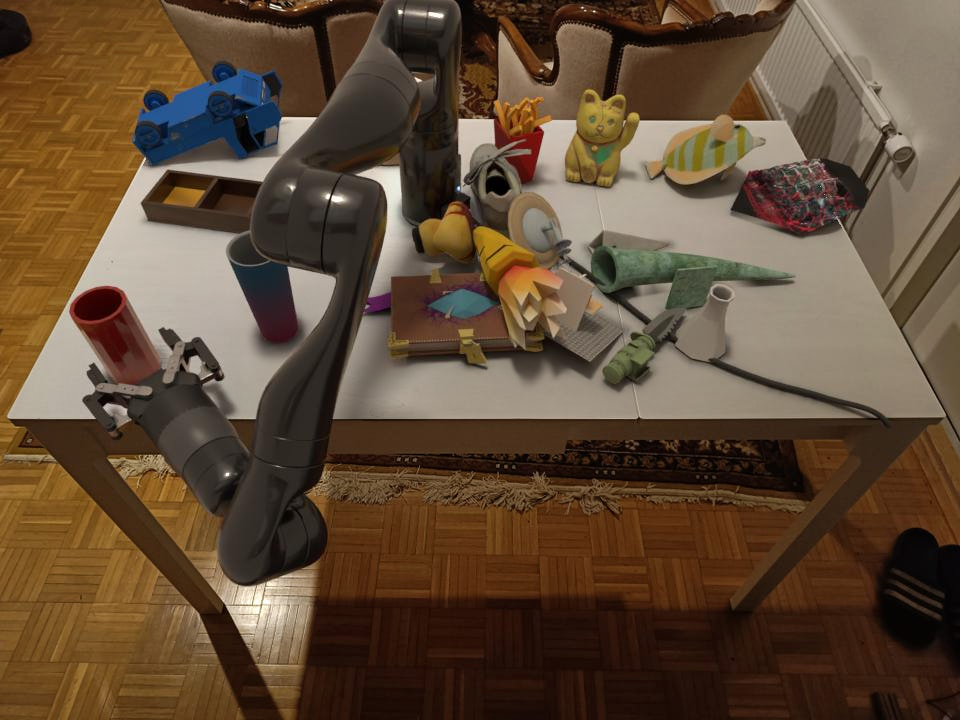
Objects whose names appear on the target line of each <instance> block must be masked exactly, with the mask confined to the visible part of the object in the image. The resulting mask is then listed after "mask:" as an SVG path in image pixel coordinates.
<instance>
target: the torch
mask: <svg viewBox="0 0 960 720" xmlns="http://www.w3.org/2000/svg"><path fill="white" fill-rule="evenodd" d="M473 240H474V244H475V247H476V249H477V251H476V253H477V255H478V257H479V261H480V265H481V267H482V268H483V271H484V274H485V277H486V280H487V283H488V284H489V286H490V287H491V288H492V290H493V291H494V292H495V293H496V295H498V296H499V297H500V301H501V305H502V308H503V312H504V316H505V319H506V323H507V327H508V330H509V339H510V340H511V342H512V344H513V345H514V347H515V348H516V346H517V344H519V345H520V346H521V347H522V348H523V349H525V330H533V329H534V327H535V325H536V323H537V321H538V322H539V323H540V324H541V325H542V326H543V328H544V329H545V330H546V331H547V332H549V333H551V334H552V337H553V338H554V337H555V335H556V336H559V337H561V338H564V339H566V337H565V335H564V333H563V331H562V329H561V327H560V324H559V322H558V320H557V318H556V316H555V315H557V314H563V313H566V310H567V308H566V307H565V305H564V304H563V302H562V301H561V299H560V298H559V296H558V294H557V293H556V291H557V290H559V289H560V287H561V284H562V282H563V280H562V279H560V278H559V277H558V276H556V274H555V273H554V272H553V271H551V270H550V269H548V270H546V269H542V268H539V264H538V262H537V259H536V256H535V255H534V254H533V253H531V252H529V251H527V250H525V249H524V248H522V247H520V246H518V245H516V244H515V243H513V242H512V241H510V240H509V239H508V238H506V237H505V236H503V235H502V234H500V233H498V232H496V231H494V230H492V229H490V228H486V227H484V225H482V226H479V227H477V226H476V229H475V230H474V231H473ZM566 340H567V339H566Z"/></svg>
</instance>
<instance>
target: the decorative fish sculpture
mask: <svg viewBox="0 0 960 720" xmlns="http://www.w3.org/2000/svg"><path fill="white" fill-rule="evenodd" d="M766 142H767V139H766V138H765V137H762V136H755V135H752V134H751V132H750V130H749V129H748V128H747V127H746V126H744V125H743V124H740V123H739V124H736V123H735V122H734V119H733V118H732V117H731V116H729V115H728V114H721V115H719V116H717V117H716V118H715V119H714V120H713V122H712V123H708V124H702V125H698V126H694V127H691V128H687V129H684V130H680V131H679V132H677V133H675V134H674V135H673V136H672V137H671V138H670V140H669V141H668V143H667V145H666V147H665V150H664V153H663V155H662V159H661V160H652V161H648V162H645V163H644V165H645V168H646V170H647V174H648V176H649V178H650V179H651V180H652V179H653V178H655V177H657V176H658V175H659V174H660V173H661V172H662V171H664V173H665V175H666V176H667V177H668V178H669V179H670V180H672V181H673V182H675V183H677V184H680V185H692V184H697V183H700V182H703V181H705V180H707V179H709V178H711V177H713V176H715V175H716V174H718V173H721V172H722V171H724V170H725V172H724V173H723V175H722V176H721V177H720V181H723V180H725V179H726V178H728V176H729V175H730V174H731V173H732V171H734V168H735V167H736V165H737V163H738V162H739V161H740V160H742V159H743V158H744V157H745V156H746V155H747V154H749V153H750V152H751V151H752V150H754V149H756V148H758V147H762V146H764V145H766Z"/></svg>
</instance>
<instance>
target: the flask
mask: <svg viewBox="0 0 960 720" xmlns="http://www.w3.org/2000/svg"><path fill="white" fill-rule="evenodd" d="M734 299H735V290H734V289H733V288H731V287H729V286H728V285H726V284H721V283H715V284H714V285H711V287H710V290H709V296H708V297H707V299H706V302H705V304H704V306H701V308H700V309H699V310H697V312H696V313H694V315H693V316H692V317H691V318H689V319H688V320H687V321H686V322H685V323H683V325H681V326H680V327H679V328H677V330H676V331H675V336H676V337H678V341H677V342H674V343H675V344H674V345H675V347H676V348H677V349H678V350H680V351H681V352H682V353H683V354H685V355H686V356H688V357H689V358H690V359H692V360H696V361H697V360H698V361H702V362H708V363H711V362H710V361H709V360H708V359H710V358H716V359H718V360H719V358H720V357H722V356H723V355H724V354H725V353H726V316H727V312H728V311H727V310H728V307H729V304H730V303H731V302H732V301H733V300H734Z"/></svg>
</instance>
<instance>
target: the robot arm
mask: <svg viewBox="0 0 960 720" xmlns="http://www.w3.org/2000/svg"><path fill="white" fill-rule="evenodd" d="M462 37H463V19H462V12H461V8H460V5H459V4H458V2H456V0H385V1H384V3H383V4H382V6H381V7H380V9H379V12H378V14H377V16H376V18H375V20H374V23H373V25H372V28H371V30H370V33H369V35H368V37H367V39H366V42H365V43H364V45H363V47H362V48H361V50H360V51H359V53H358V55H357V57H356V58H355V60H354V61H353V63H352V64H351V65H350V67H349V68H348V69H347V70H346V72H345V73H344V74H343V76H342V78H341V79H340V81H339V82H338V83H337V85H336V86H335V88H334V90H333V91H332V93H331V95H330V97H329V99H328V101H327V102H326V104H325V105H324V107H323V108H322V110H321V111H320V113H319V114H318V115H317V116H316V118H315V120H314V121H313V122H312V123H311V124H310V126H309V127H307V130H305V131H304V132H303V134H301V136H300V137H299V138H298V139H296V141H295V142H294V143H293V144H292V145H291V146H290V147H289V148H288V149H287V150H286V151H285V152H284V153H283V154H282V155H281V157H280V158H279V159H278V160H277V161H276V162H275V163H274V164H273V166H272V167H271V168H270V170H269V171H268V173H266V176H265V177H264V179H263V181H262V182H263V183H262V184H261V186H260V188H259V191H258V193H257V196H256V198H255V201H254V204H253V207H252V211H251V218H250V236H251V240H252V243H253V245H254V247H255V249H256V250H257V252H258V253H259V254H261V255H262V256H263V257H264V258H266V259H268V260H270V261H272V262H275V263H278V264H281V265H284V266H288V268H293V269H298V270H303V271H306V272H311V273H316V274H320V275H325V276H329V277H332V278H334V279H335V284H334V287H333V291H332V293H331V297H330V301H329V302H328V305H327V307H326V310H325V311H324V313H323V316H322V317H321V319H320V320H319V321H318V323H317V324H316V326H315V327H314V328H313V330H312V331H311V332H310V333H309V334H308V335H307V337H306V338H305V339H304V341H303V342H301V344H300V345H299V346H298V347H297V348H296V349H295V350H294V351H293V353H291V355H290V356H288V358H287V359H286V360H285V361H284V362H283V363H282V364H281V365H280V367H278V369H277V370H276V371H275V372H274V374H272V376H271V378H270V379H269V381H268V382H267V384H266V385H265V387H264V389H263V391H262V393H261V397H260V399H259V402H258V405H257V410H256V414H255V420H254V427H253V433H252V440H251V447H250V449H249V448H248V446H247V445H246V444H245V443H244V441H243V440H242V439H241V437H240V435H239V433H238V432H237V430H236V428H235V427H234V425H233V424H232V422H231V421H230V420H229V419H228V418H227V417H226V415H225V414H224V412H222V410H221V409H220V408H219V407H218V405H217V404H216V402H214V401H213V399H212V398H211V397H210V395H208V393H207V392H206V391H205V389H204V385H205V384H207V383H209V382H211V381H212V380H214V381H216V382H222V381H223V380H224V379H225V378H226V376H225V373H224V371H223V369H222V367H221V364H220V363H219V361H218V359H217V358H216V357H215V356H214V353H212V351H211V349H210V348H209V347H208V346H207V344H206V343H205V342H204V340H203V339H202V337H200V336H195V337H193V338H191V340H190V341H183V339H181V337H180V336H179V335H178V334H177V333H176V332H175V330H174V329H172V328H167V329H166V328H165V327H164V326H162V327H161V328H159V329H157V330H158V333H159V335H160V336H161V339H162V340H163V341H164V343H165V344H166V346H167V347H168V348H169V349H170V350H171V351H172V354H171V355H169V358H168V361H167V365H166V368H162V367H160V369H159V370H157V371H156V372H154V373H153V374H152V375H151V376H149V377H146V378H143V379H141V380H139V381H137V382H136V383H137V384H136V385H129V384H123V383H119V384H114V383H110V382H109V381H108V380H107V379H106V377H105V376H104V374H103V373H102V371H101V370H100V369H99V367H98V366H97V365H96V363H95V362H92V363H90V364H88V365H87V366H88V367H89V369H88V370H86V376H87V378H88V379H89V380H90V382H91V383H92V385H93V386H94V388H95V389H94V391H93V393H91V394H86V395H84V396H83V397H82V399H81V401H82V403H83V404H84V406H85V407H86V408H87V409H88V411H89V412H90V414H91V415H92V416H93V418H94V419H95V420H96V421H97V422H98V423H99V425H100V426H101V428H103V430H104V431H105V432H106V434H108V436H109V438H111V440H113V441H119V440H121V439H122V438H123V436H124V433H123V431H126V430H127V429H128V428H130V427H132V426H134V425H136V426H139V427H141V429H142V430H143V431H144V432H145V434H146V435H147V436H148V438H149V439H150V441H151V442H152V444H153V445H154V447H155V448H156V449H157V451H158V452H159V454H160V455H161V456H162V458H163V460H164V462H165V463H166V464H167V465H168V466H169V468H170V469H171V470H172V471H173V472H174V473H175V474H176V475H177V476H178V477H179V478H180V479H181V480H182V481H183V483H184V484H185V486H186V487H187V488H188V490H189V491H190V492H191V494H192V495H193V496H194V498H195V499H196V501H197V502H198V503H199V505H200V506H201V507H202V508H203V510H204V511H205V512H206V513H207V514H209V515H210V516H213V517H215V518H220V519H222V520H221V523H220V525H219V529H218V533H217V540H216V555H217V560H218V564H219V567H220V569H221V571H222V573H223V575H225V577H226V578H227V579H228V580H229V581H230V582H232V583H233V584H235V585H237V586H240V587H245V588H247V587H248V588H251V587H255V586H259V585H263V584H265V583H268V582H271V581H274V580H276V579H278V578H281V577H284V576H286V575H289V574H293V573H294V572H297V571H299V570H303V569H305V568H308V567H311V565H313V564H315V563H316V562H318V561H319V560H320V559H321V558H322V556H323V555H324V553H325V552H326V549H327V546H328V541H329V540H328V539H329V532H328V527H327V523H326V520H325V518H324V515H323V514H322V512H321V510H320V509H319V508H318V506H317V505H316V504H315V502H314V501H313V500H312V499H311V498H310V497H309V496H307V495H306V494H305V493H307V492H308V491H311V490H312V489H314V488H315V487H316V486H317V485H318V483H319V482H320V481H321V479H322V476H323V473H324V471H325V466H326V465H325V464H326V460H327V455H328V449H329V443H330V438H331V432H332V426H333V421H334V415H335V411H336V405H337V403H338V399H339V394H340V390H341V387H342V383H343V380H344V376H345V374H346V370H347V367H348V364H349V361H350V358H351V356H352V355H351V354H352V352H353V349H354V346H355V342H356V340H357V336H358V334H359V330H360V327H361V323H362V320H363V317H364V314H365V312H364V310H365V309H366V308H367V307H366V306H367V303H368V302H367V300H368V297H370V294H371V290H372V286H373V283H374V280H375V276H376V272H377V269H378V265H379V263H380V258H381V255H382V251H383V246H384V242H385V237H386V232H387V224H388V198H387V194H386V191H385V189H384V186H383V185H382V184H381V183H380V181H377V180H375V179H373V178H369V177H365V176H361V175H358V174H361V173H365V172H367V171H369V170H372V169H374V168H376V167H379V166H380V165H381V164H383V163H384V162H386V161H388V160H390V159H391V158H393V157H394V156H395V155H396V154H398V155H399V164H398V166H399V167H398V169H399V179H400V181H399V182H400V192H401V213H402V216H403V218H404V219H405V221H407V222H408V223H409V224H412V225H414V226H416V227H418V226H419V225H420V224H422V223H423V222H424V221H426V220H428V219H438V220H442V219H443V217H444V215H445V213H446V212H447V209H448V206H449V205H450V204H451V203H452V202H456V201H459V202H462V203H464V204H465V205H466V206H467V207H468V208H469V210H470V209H471V195H469V194H467V193H464V192H462V154H460V153H459V132H460V131H459V125H460V124H459V123H460V122H459V121H460V120H459V119H460V118H459V116H460V72H461V71H460V70H461V69H460V68H461V55H462V54H461V53H462V41H463V40H462ZM413 73H414V74H422V75H432V77H430V78H428V79H424V80H422V81H421V82H417V81H416V79H415V77H416V76H414V74H413ZM473 219H474V222H475V227H476V228H477V227H479V226H483V225H482V223H481V222H480V221H479V220H478V219H477V218H475V217H474V216H473ZM559 251H560V250H558V252H559ZM567 257H568V258H570V259H572V258H571V257H570V256H569V255H567ZM560 258H562V259H563V260H564V257H563V256H560ZM568 264H569V265H571V266H572V267H574V268H575V269H577V270H578V271H579V272H580V273H582V274H583V275H584V274H587V275H586V276H585V277H588V278H589V279H590V280H591V281H592V282H594V284H595V283H597V284H600V285H602V286H606V285H605V284H604V283H603V282H602V281H601V280H599V279H598V278H596V277H595V276H594V275H593V274H592V272H591V271H589V270H588V269H586V268H585V267H584V266H582V265H580V264H579V263H578V262H577V261H576V260H574V259H572V261H571V262H569V263H568ZM608 294H609V295H610V296H611V297H613V298H614V299H615V300H616V301H618V302H619V303H620V304H621V305H622V306H624V307H625V308H627V309H628V310H629V311H631V312H632V313H633V314H634V315H635V316H637V317H638V318H639V319H641V320H642V321H643V322H645V323H646V324H647V325H648V324H649V323H650V322H651V321H652V320H653V319H651V318H650V317H648V316H647V315H645V314H644V313H643V312H641V311H640V310H639V309H638V308H636V307H635V306H634V305H632V304H631V303H630V302H628V301H627V300H626V299H625V298H624V297H622V296H621V295H620V294H618V293H617V291H613V292H611V293H608ZM667 334H668V335H667V336H665V338H666V337H667V338H668V339H669V340H671V341H672V342H674V343H675V342H677V341H678V337H676V335H674V334H673V333H672V332H670V333H667ZM196 356H197V357H198V358H199V360H200V361H201V363H200V364H201V365H200V366H199V369H200V372H199V373H195V372H190V365H191V361H192V358H193V357H196ZM708 360H709V361H710V362H709V363H712V364H714V365H716V366H718V367H721V368H723V369H725V370H727V371H729V372H732V373H735V374H737V375H740V376H742V377H745V378H747V379H751V380H754V381H756V382H758V383H760V384H761V383H762V384H764V385H768V386H772V387H773V388H778V389H782V390H785V391H790V392H793V393H797V394H800V395H805V396H809V397H812V398H814V399H815V398H816V399H818V400H822V401H825V402H828V403H832V404H836V405H839V406H844V407H849V408H852V409H856V410H860V411H863V412H866V413H868V414H870V415H872V416H874V417H876V418H877V419H878V420H880V422H882V423H883V426H884V427H886V428H887V429H892V428H893V425H892V423H891V421H890V420H889V419H888V418H887V417H886V416H885V415H884V414H883V413H882V412H880V411H879V410H877V409H875V408H873V407H871V406H868V405H866V404H863V403H858V402H854V401H851V400H846V399H842V398H838V397H835V396H831V395H827V394H824V393H821V392H819V391H818V392H817V391H815V390H810V389H807V388H803V387H799V386H795V385H791V384H787V383H783V382H779V381H776V380H773V379H770V378H767V377H763V376H760V375H758V374H755V373H752V372H749V371H746V370H744V369H741V368H739V367H736V366H734V365H731V364H729V363H727V362H725V361H723V360H720V359H719V358H718V359H716V358H710V359H708ZM107 404H109V405H115V406H120V407H122V408H123V409H126V414H125V415H120V414H118V413H114V412H110V413H108V411H107V410H106V409H105V408H104V407H106V405H107Z"/></svg>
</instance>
